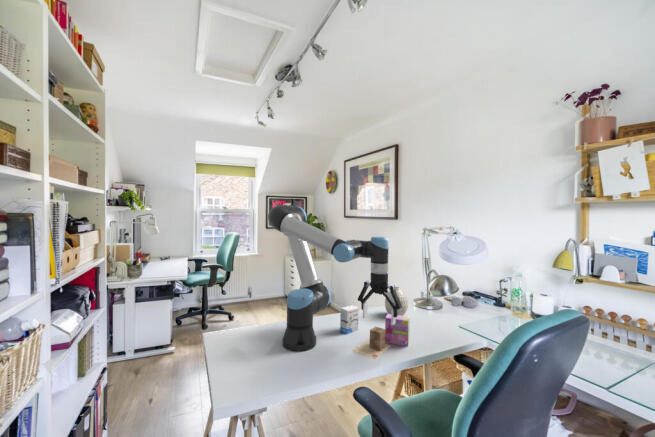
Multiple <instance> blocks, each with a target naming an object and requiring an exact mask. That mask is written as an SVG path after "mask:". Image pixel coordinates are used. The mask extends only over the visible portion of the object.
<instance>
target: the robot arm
mask: <svg viewBox="0 0 655 437" xmlns="http://www.w3.org/2000/svg"><path fill="white" fill-rule="evenodd" d="M307 220H308V217H307V213H306V211H305V210H304V209H303V207H301V206H300V205H299V206H298V205H294V204H293V205H292V204H290V205H285V204H284V205H283V204H278V205H276V206H273V207H272V208H271V209H270V210H269V212H268V215H267V221H268V223H269V225H270V227H272V228H273V229H275V231H278V232H280V233H282V234H283V235H284V236H285V237H286V238H288V239H287V240H288V241H289V246H290V249H291V252H292V255H293V259H294V262H295V267H296V269H297V273H298V275H299V278H300V279H299V280H300V282H301V284H300V286H299V288H297V289H293V290H291V291H290V292H288V294H287V299H286V328H285V329H284V333H283V337H282V346H283V348H285V349H286V350H288V351H292V352H293V351H294V352H305V351H308V350H312V349H314V348H315V347H316V346H317V336H316V334H315V330H314V315H316V314H318V313H319V312H321V311H323V310H324V309H326V308H327V307H328V306H329V304H330V303H331V299H332V294H331V291H330V289H329V288H328V286H326V285H324V282H323V280H322V279H320V278H319V276H318V273H317V270H316V267H315V263H314V260H313V257H312V253H311V250H310V246H309V244H310V245H312V246H313V247H315V248H318V249H320V250H322V252H325V253H327V254H330V255H331V256H333V257H334V259H335V261H337V262H339V263H347V262H348V263H349V262H351V261H352V260H355V259H358V258H363V259H364V258H365V259H366V258H368V259H370V281H369V280H367V281H364V282H363V287H362V289H361V291H360V293H359V294H358V297H357V301H358V302H360V304H361V311H362V318H363V319H366V318H368V302H367V300H369V299H370V297H371V296H372V295H373V294H375V295H377V294H379V295H383V297H385V298H386V299H387V300H388V302H389V303H390V305H391V306H392V308H393V309H392V310H391V325H394V324H396V317H397V316H398V309H400V308H402V305H401V302H400V300H399V298H398V295H397V293H396V291H395V287H396V286H395V284H392V285H389V283H388V282H389V273H388V272H389V238H387V237H386V236H372V237H371V238H370V240H359V239H348V240H346V241H345V240H343V239H340V238H339V237H337V236H335V235H333V234H332V233H328V232H326V231H324V230H322V229H320V228H318V227H315V226H314V225H311V224H309V223H308V222H307ZM369 287H370V288H371V289H370V290H369V291H368V293H367V294H366V292H367V290H368V289H369ZM389 291H391V294H392V297H393V299H394V300H393V299H392V297H391V296H390V294H389ZM394 301H395V302H394Z"/></svg>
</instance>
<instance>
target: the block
mask: <svg viewBox="0 0 655 437" xmlns="http://www.w3.org/2000/svg"><path fill="white" fill-rule="evenodd" d="M385 331H386V329H385V328H382V327H379V326H374V327H372V328H371V329H369V339H370V348H371V349H374V350H377V351H381V350H382V349H384V348H385V344H386V342H385Z"/></svg>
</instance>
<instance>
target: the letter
mask: <svg viewBox="0 0 655 437" xmlns="http://www.w3.org/2000/svg"><path fill="white" fill-rule="evenodd" d="M390 347H391V345H389V344H388V343H385V348H384V349H382V350H381V351H377V350H374V349H371V348H370V338H368V339H367V340H366V341H365V342H362V344H360V345H359V346H357V347H356V348H355V349H353V350H352V352H354V353H357V354H360V355H363V356H366V357H368V358H370V359H371V358H372V359H373V360H376V359H377V358H379V357H380V356H382V354H384V352H386V351H387V350H388V349H389V348H390Z"/></svg>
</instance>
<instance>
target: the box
mask: <svg viewBox="0 0 655 437" xmlns="http://www.w3.org/2000/svg"><path fill="white" fill-rule="evenodd" d="M410 321H411V316H408V315H407V316H406V315H403V316H400V315H398V316H397V317H396V324H394V325H391V314H388V313H387V314H386V316H385V321H384V322H385V324H384V325H385V327H384V329H386V331H385V344H393V345H399V346H405V347H409V343H410V331H411V330H410V327H411V326H410V325H411V324H410Z"/></svg>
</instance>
